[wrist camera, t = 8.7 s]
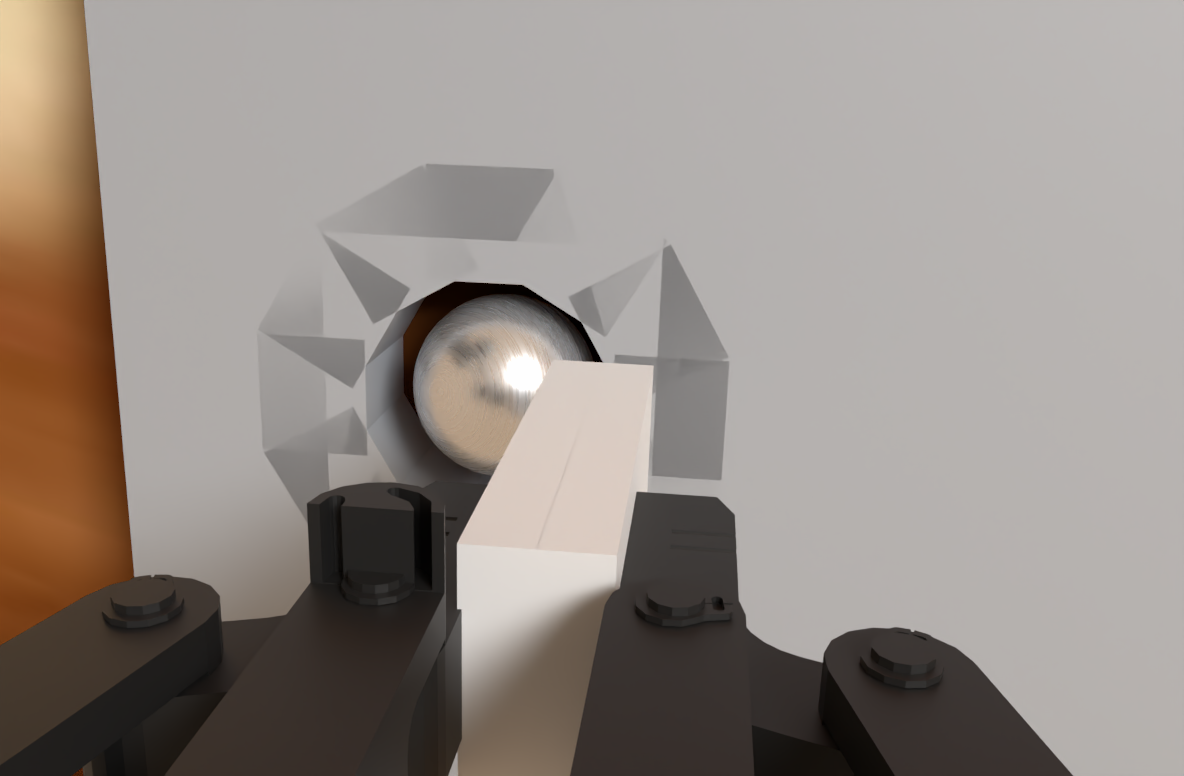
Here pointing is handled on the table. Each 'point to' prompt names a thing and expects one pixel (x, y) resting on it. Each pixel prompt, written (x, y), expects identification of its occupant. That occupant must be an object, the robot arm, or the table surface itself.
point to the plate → (692, 296)
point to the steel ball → (488, 373)
